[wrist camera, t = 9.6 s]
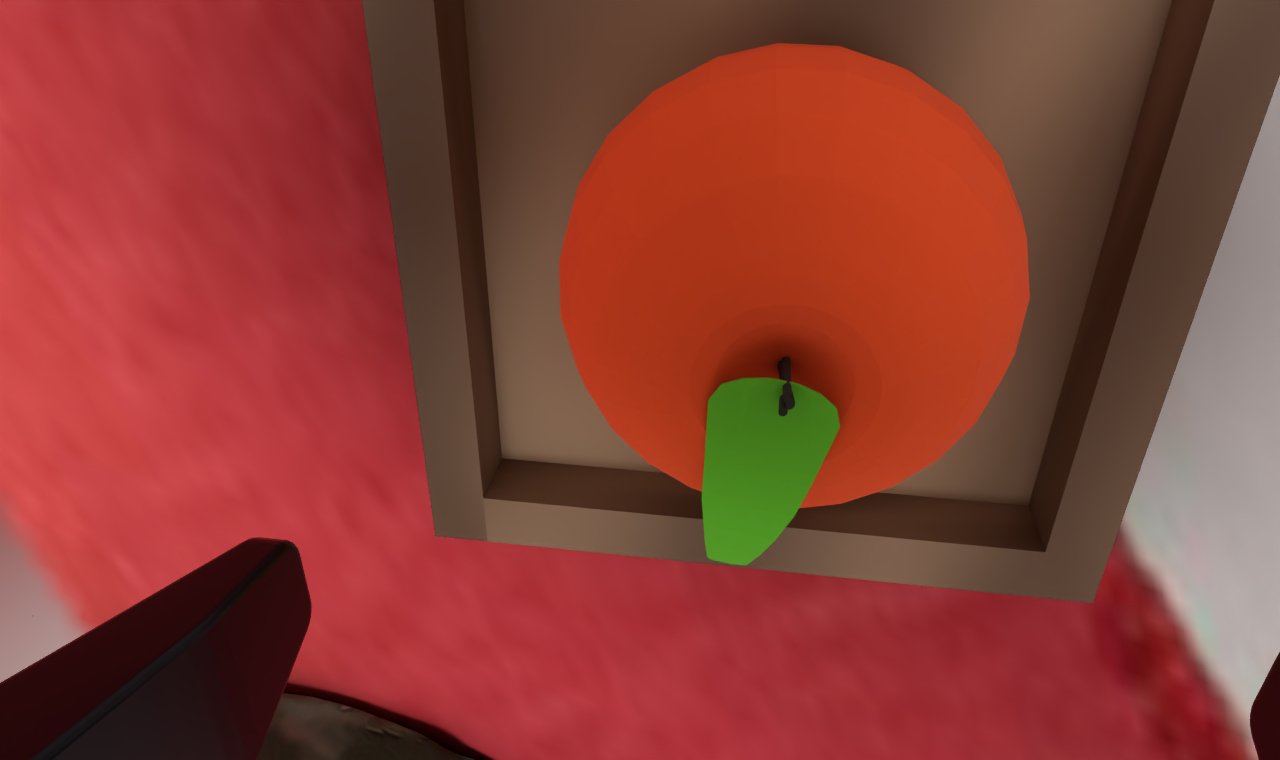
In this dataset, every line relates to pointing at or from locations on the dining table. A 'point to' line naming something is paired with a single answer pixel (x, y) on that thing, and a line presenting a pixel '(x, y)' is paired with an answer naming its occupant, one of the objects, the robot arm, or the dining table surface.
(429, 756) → the rose bouquet
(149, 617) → the robot arm
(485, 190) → the walnut dish
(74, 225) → the dining table surface
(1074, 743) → the dining table surface
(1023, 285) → the clementine
